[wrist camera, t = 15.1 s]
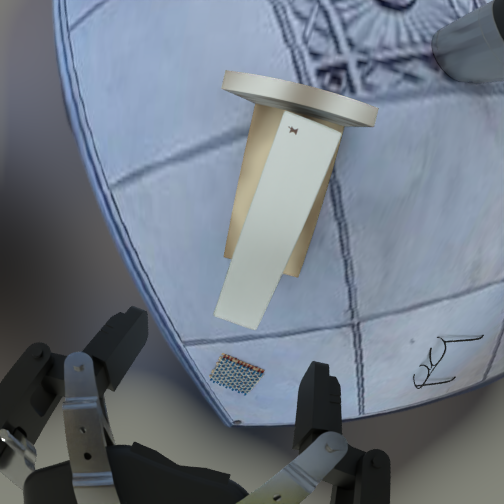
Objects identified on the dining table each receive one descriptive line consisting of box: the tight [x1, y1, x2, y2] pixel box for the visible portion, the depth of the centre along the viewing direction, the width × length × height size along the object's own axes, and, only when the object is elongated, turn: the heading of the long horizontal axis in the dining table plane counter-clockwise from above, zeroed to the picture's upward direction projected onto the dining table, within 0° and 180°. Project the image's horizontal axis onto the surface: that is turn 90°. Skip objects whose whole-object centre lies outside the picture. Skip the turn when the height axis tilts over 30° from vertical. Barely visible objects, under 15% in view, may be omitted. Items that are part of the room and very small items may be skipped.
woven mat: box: [209, 353, 265, 395], centre depth 58 cm, size 10×11×2 cm
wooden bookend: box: [221, 70, 379, 277], centre depth 31 cm, size 12×25×18 cm, turn 168°
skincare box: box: [214, 111, 342, 330], centre depth 31 cm, size 21×5×16 cm, turn 161°
